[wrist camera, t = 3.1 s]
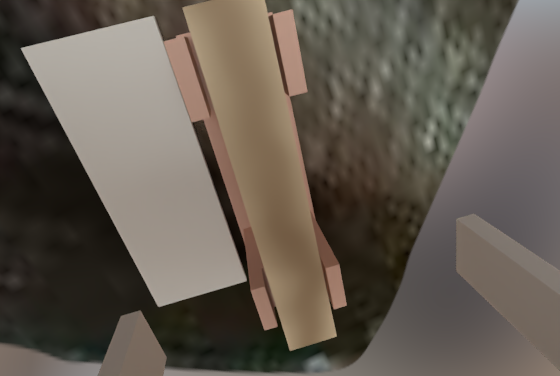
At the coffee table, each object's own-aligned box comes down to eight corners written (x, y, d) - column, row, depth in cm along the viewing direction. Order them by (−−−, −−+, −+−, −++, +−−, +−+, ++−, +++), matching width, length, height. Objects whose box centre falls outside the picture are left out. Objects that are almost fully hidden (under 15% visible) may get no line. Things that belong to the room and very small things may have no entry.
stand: (252, 262, 32) (262, 336, 24) (176, 36, 23) (152, 31, 15) (319, 243, 33) (351, 309, 25) (270, 13, 24) (296, -4, 16)
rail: (281, 314, 26) (290, 350, 23) (189, 14, 17) (182, 7, 14) (323, 301, 26) (336, 336, 23) (254, -2, 17) (262, -13, 14)
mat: (159, 302, 32) (158, 307, 32) (25, 48, 22) (20, 48, 22) (246, 277, 33) (246, 281, 32) (155, 16, 23) (153, 15, 22)
